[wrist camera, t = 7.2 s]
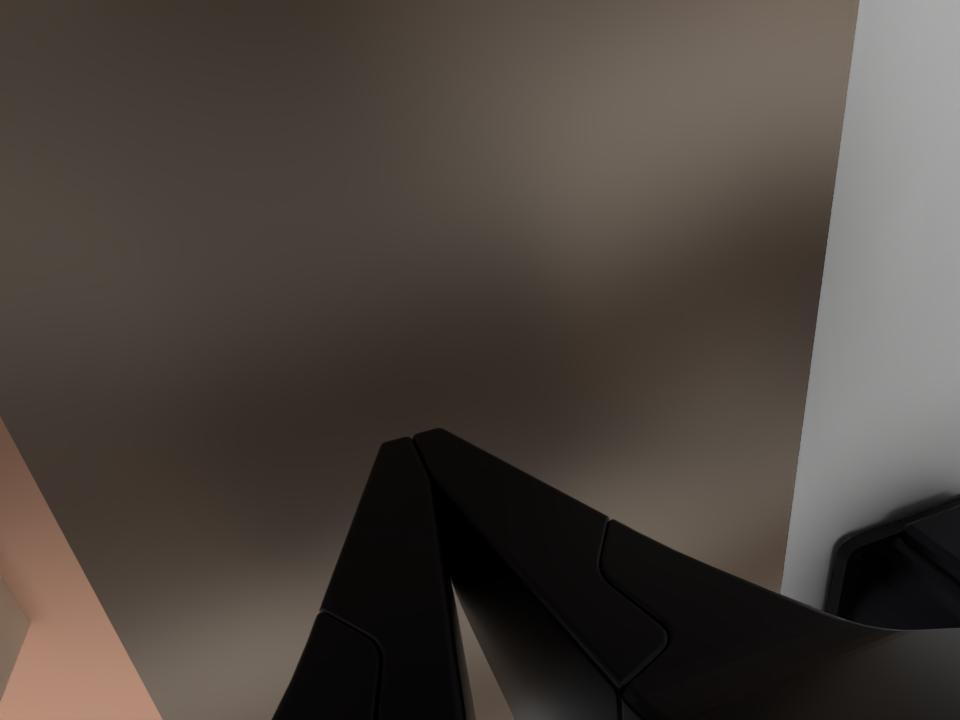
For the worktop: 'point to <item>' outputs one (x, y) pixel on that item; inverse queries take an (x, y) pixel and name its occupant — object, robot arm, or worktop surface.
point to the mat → (58, 617)
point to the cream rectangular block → (10, 633)
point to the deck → (400, 285)
